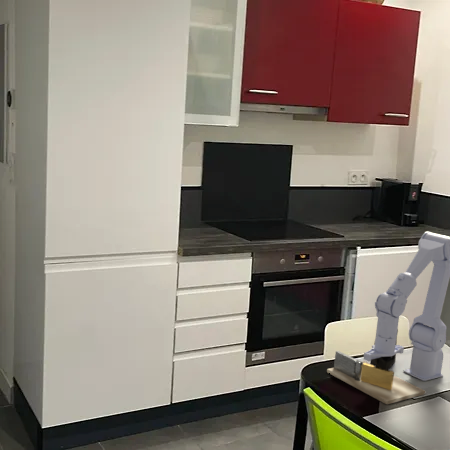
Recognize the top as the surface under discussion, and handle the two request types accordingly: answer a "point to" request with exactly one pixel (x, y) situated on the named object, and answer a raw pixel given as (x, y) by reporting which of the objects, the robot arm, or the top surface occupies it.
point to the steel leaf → (348, 365)
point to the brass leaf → (377, 376)
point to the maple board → (397, 393)
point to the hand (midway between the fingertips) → (380, 379)
